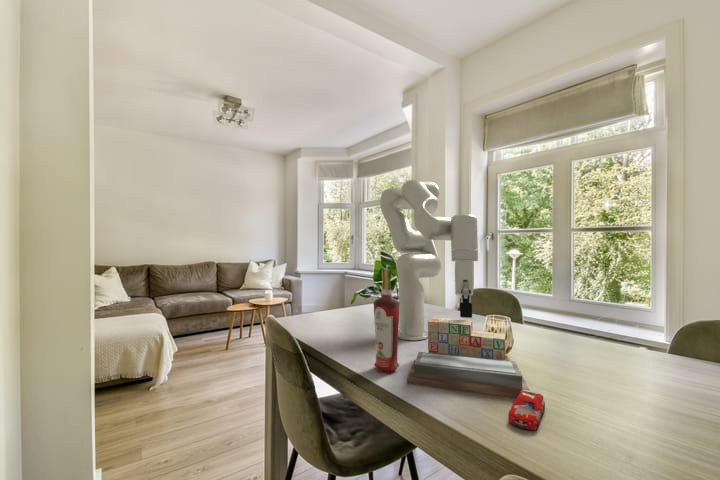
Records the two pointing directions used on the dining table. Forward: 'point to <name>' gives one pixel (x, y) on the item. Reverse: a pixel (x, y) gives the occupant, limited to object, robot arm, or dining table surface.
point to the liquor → (386, 327)
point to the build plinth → (467, 374)
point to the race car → (527, 410)
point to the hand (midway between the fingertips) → (465, 314)
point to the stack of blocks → (463, 339)
